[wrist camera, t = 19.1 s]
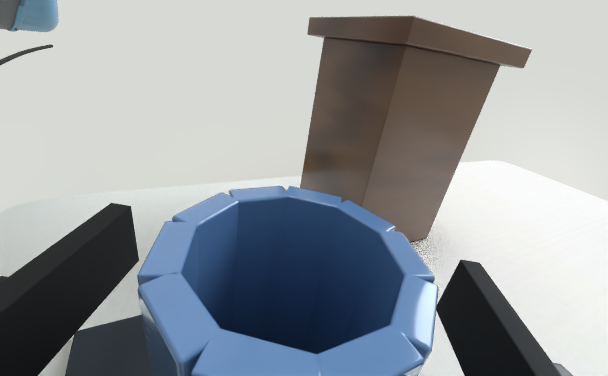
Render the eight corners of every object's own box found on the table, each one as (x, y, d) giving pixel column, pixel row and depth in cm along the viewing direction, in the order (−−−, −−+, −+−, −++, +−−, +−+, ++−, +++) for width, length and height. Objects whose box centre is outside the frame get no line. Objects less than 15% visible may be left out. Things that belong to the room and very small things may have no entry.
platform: (285, 196, 29) (309, 17, 22) (368, 187, 34) (410, 39, 27) (343, 268, 20) (414, 15, 13) (442, 243, 25) (532, 48, 18)
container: (164, 379, 12) (140, 196, 8) (305, 330, 15) (340, 180, 11) (176, 648, 7) (128, 513, 3) (387, 489, 10) (508, 318, 6)
